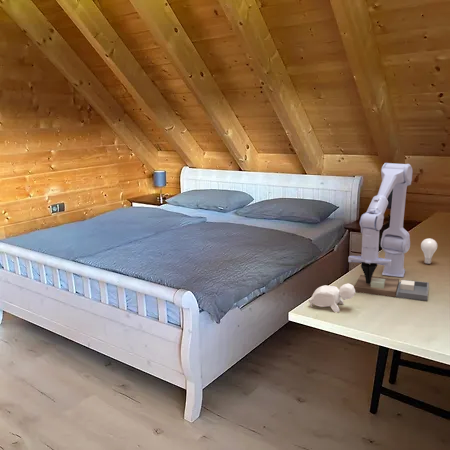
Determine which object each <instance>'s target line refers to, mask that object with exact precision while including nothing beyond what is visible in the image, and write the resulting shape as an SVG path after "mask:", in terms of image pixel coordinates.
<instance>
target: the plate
mask: <svg viewBox="0 0 450 450" xmlns="http://www.w3.org/2000/svg"><path fill="white" fill-rule="evenodd" d="M372 278H379V279H385V286H384V289H382V288H374V287H371V283H370V284H367V283H366V279H365V275H364V274H360V275H359V277H358V279H357V280H356V283H355V284H354V285H353V286H354V289H355V293H360V294H366V295H374V296H382V297H389V298H391V297H392V298H397V297H396V293H397V290H398V286H399V282H400V279H399V278H390V277H383V276H374V275H372ZM372 278H371V280H372Z"/></svg>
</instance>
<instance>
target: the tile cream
mask: <svg viewBox="0 0 450 450" xmlns="http://www.w3.org/2000/svg"><path fill="white" fill-rule="evenodd" d="M406 280H407V279H402V280H400V282H401V284H400V289H403V290H411V291H414V284H415V281H416V280H411V281H406Z"/></svg>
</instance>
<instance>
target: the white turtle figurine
mask: <svg viewBox="0 0 450 450" xmlns="http://www.w3.org/2000/svg"><path fill="white" fill-rule="evenodd" d="M354 286H355V285H353V284H351V283H349V282H348V283H344V284H342V285H341V286H340V287H339V288H338V287H337V286H335V285H327V284H325V285H321V286H319V287H317V288H316V289H315V290H314V291H313V294H312V295H311V298H308V302H309V305H310V308H313V305H314V306H317V307H321V308H323V307H324V308H325V307H330V308H331V310H332V312H334V313H335V312H338V313H340V307H339V306H338V304H339V305H341V304H342V305H344V301H345V300H350V299H352V298H353V297H354V296H355V295H356V292H355V289H354Z"/></svg>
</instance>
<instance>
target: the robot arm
mask: <svg viewBox="0 0 450 450" xmlns="http://www.w3.org/2000/svg"><path fill="white" fill-rule="evenodd" d="M380 175H381V183H380V186H379V189H378V192H377V194H376V195H374V196H373V197H372V199H371V202H370V203H369V206H368V208H367V210H366V212H364V213H363V214H361V216H360V219H359V226H360V233H361V235H362V236H361V237H362V239H361V255H349V256H348V263H359V264H360V267H361V270H362V272H363V275H365V279H366V283H367V284H370V283H371V278H372V276H374V272H375V271H376V269H377V268H378V267H377V266H378V265H379V266H383V271H382V273H381V276H389V277H395V278H396V277H397V278H404V277H405V272H406V268H405V267H404V265H405V254H406V253H407V252H408V251H409V250H410V247H411V237H410V236H411V235H410V232H408V231H407V230H406V229H405V228H404V220H405V219H404V217H405V208H406V200H407V199H406V198H407V197H406V196H407V188H408V186H411V185H412V181H413V167H412V165H411V164H410V163H394V162H393V163H392V162H384V164H383V165H382V166H381V169H380ZM391 192H392V193H391ZM391 194H392V196H391V208H390V218H389V219H390V220H389V226H388V228H386V229H384V230H383V232H382V235H381V238H380V230H382V228H383V224H384V219H385V212H386V210H387V208H388V206H389V201H388V198H389V196H390V195H391ZM379 244H380V246H379ZM379 247H381V249H382V250H383V252H384V257H379Z"/></svg>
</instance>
